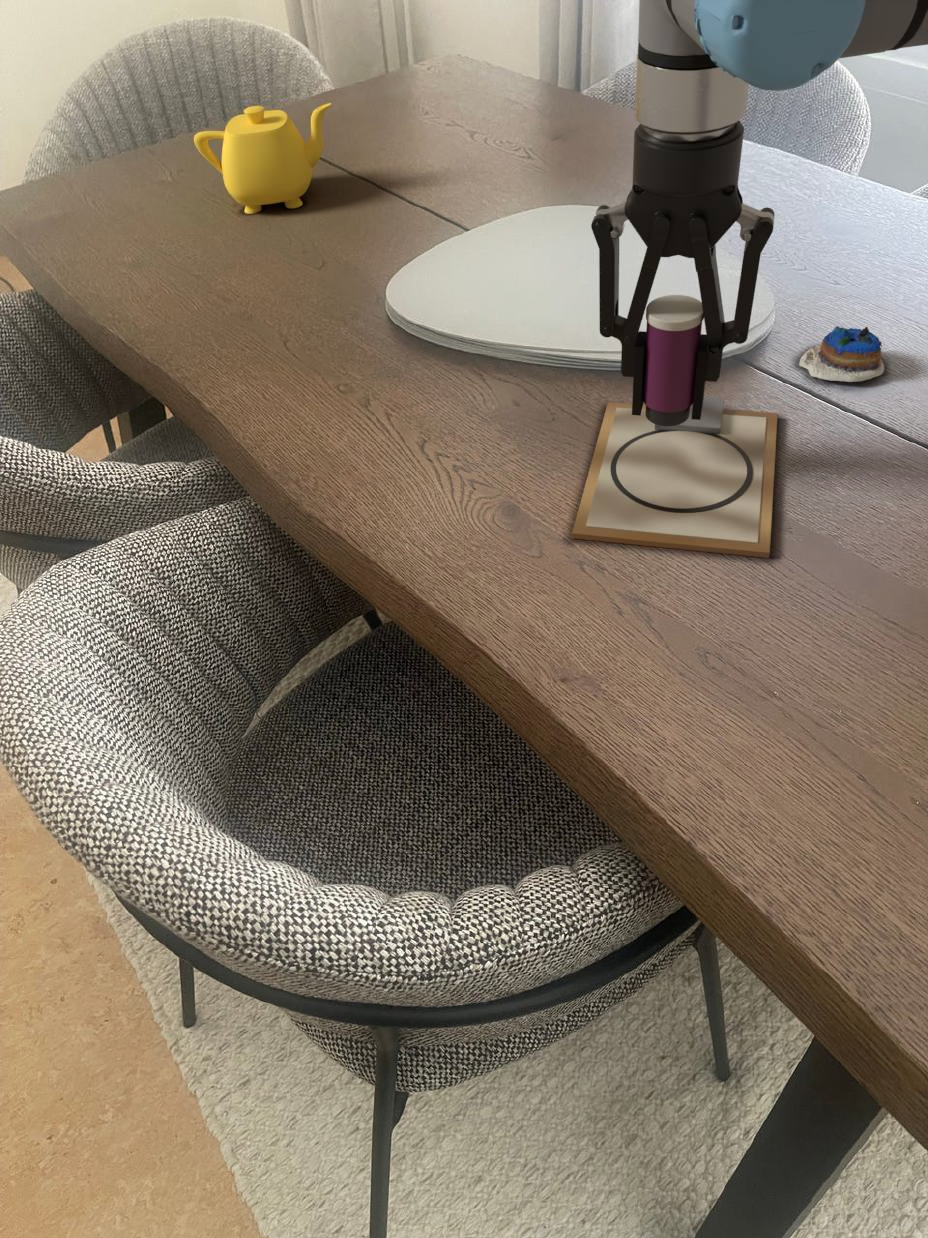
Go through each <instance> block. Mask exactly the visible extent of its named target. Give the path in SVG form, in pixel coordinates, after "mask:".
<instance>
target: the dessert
mask: <svg viewBox="0 0 928 1238" xmlns="http://www.w3.org/2000/svg"><path fill="white" fill-rule="evenodd" d="M882 348H883V345H882V341H881V340H880V338H879V337H878V336H876V335H875V334H874V333H873V332H871V331H870V330H869V328H868V326H865V327H864V328H863V329H861V328H857V327H855V328H852V327H849V328H845V327H842V326H841V327H840V326H839V325H837V326H834V328H833V329H832V331H830V332H828V334H826V335H825V336H823V339H822V341H821V344H817V345H816V346H812V347H811V348H809V349H808V350H807V351H806V352H804V353H803V354H802V355H801V357H800V359H799V363H798V365H799V367H802V368H804V369H806V370H807V372H808V373H809V376H811V377H812V378H817V379H820V380H825V381H829V382H830V381H831V382H832V381H834V382H835V381H837V382H847V383H856V382H864V381H868V380H871V379H873V378H876V377H879V376H882V375H883V373H884V372H885V364H884V361H883V360H882V358H881V357H882V353H883V351H882Z"/></svg>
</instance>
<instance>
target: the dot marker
mask: <svg viewBox="0 0 928 1238" xmlns="http://www.w3.org/2000/svg"><path fill="white" fill-rule="evenodd" d="M645 319H646V329H645V330H646V331H645V332H646V347H645V366H644V384H643V401H644V403H643V404H644V405H646V412H645V414H646V417H647V419H648V420H649V421H650V422H652V423H654V424H656V425H660V426H676V425H679V424H682V423H684V422H685V421H686V420H687V419H688V417H689V414H690V406H691V405H692V404H693V398H694V388H695V377H696V367H697V357H698V349H699V344H700V339H701V334H702V327H703V321H704V314H703V308H702V301H701V300H699V299H697V298H695V297H692V296H689V295H683V294H669V295H664V296H660V297H657V298H654V299H653V300H651V301H650V302H649V303H647V305H646V308H645Z"/></svg>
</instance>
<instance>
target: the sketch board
mask: <svg viewBox="0 0 928 1238" xmlns="http://www.w3.org/2000/svg"><path fill="white" fill-rule="evenodd" d="M724 405H725V398H723V397H720V398H719V397H707V396H704V399H703V406H702V413H701V419H700V420H695V419H691V418H692V408H693V404H692V405H691V406H690V414H689V417H688V419H687V420H686V421H685V422H684V423H682V424H679V425H676V426H660V425H656V424H654V423H652V422H650V421H649V420H648V419H647V417H646V414H645V412H646V405H645V404H643V407H642V411H641V415H640V416H639V415H632V403H623V402H610V401H609V402H607V405H606V409H605V412H604V415H603V419H602V423H601V426H600V430H599V433H598V437H597V440H596V444H595V449H594V452H593V456H592V459H591V462H590V467H589V470H588V474H587V478H586V482H585V485H584V489H583V493H582V496H581V500H580V503H579V507H578V510H577V514H576V518H575V521H574V525H573V528H572V532H571V538H572V539H575V540H585V541H595V542H603V543H615V544H624V545H634V546H635V545H636V546H644V547H645V546H646V547H655V548H665V549H675V550H685V551H693V552H694V551H695V552H703V553H704V552H705V553H713V554H714V553H715V554H725V555H735V556H743V557H744V556H746V557H754V558H765V559H769V558H770V555H771V542H772V541H771V540H772V539H771V538H772V525H773V523H772V521H773V505H774V489H775V488H774V487H775V485H774V484H775V468H776V450H777V436H778V435H777V431H778V415H779V414H778V412H768V411H767V412H766V411H750V410H749V411H748V410H734V409H724Z"/></svg>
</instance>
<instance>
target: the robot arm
mask: <svg viewBox="0 0 928 1238" xmlns="http://www.w3.org/2000/svg"><path fill="white" fill-rule="evenodd" d="M638 5H639V6H638V39H637V41H638V45H637V54H636V72H635V73H636V74H635V75H636V77H635V106H634V107H635V108H634V118H635V120H636V121H637V122H638V123H639V125H638V126H637V127H636V129H634V135H633V157H632V184H631V190H630V191H629V193H628V195H627V197H626V199H625V202H622V203H620V204H617V205H614V206H611V207H610V206H609V205H606V204H602V205H600V206H599V207H597V209H596V211H595V214H594V216H593V219H592V221H591V225H590V227H591V231H592V233H593V236H594V240H595V242H596V244H597V247H598V249H599V250H598V262H599V263H598V265H599V267H598V273H599V275H598V277H599V278H598V280H599V284H598V286H599V288H598V289H599V291H598V292H599V297H598V298H599V299H598V300H599V334H600V335H601V336H602V337H603V338H614V339H617V340H618V341H619V342H620V344H621V354H620V355H621V357H620V373H621V375H622V377H625V378H626V377H627V378H633V379H632V380H633V381H632V403H631V404H632V415H639V416H640V415H641V411H642V407H643V405H644V404H645V403H644V401H643V384H644V366H645V347H646V331H644V330H643V331H641V330H640V328H641V324H642V321H643V318H644V316H645V313H646V308H647V306H648V301H649V299H650V296H651V295H650V294H651V291H652V288H653V285H654V281H655V278H656V275H657V271H658V268H659V265H660V261H661V258H672V257H676V256H680V257H684V258H687V259H693V260H694V268H695V272H696V273H697V274H696V275H697V279H698V286H699V294H700V302H702V308H703V314H704V319H703V321H704V327H705V333H706V334H705V333H704V334H703V333H701V339H700V344H699V349H698V357H697V367H696V377H695V388H694V398H693V408H692V418H691V419H695V420H700V419H701V413H702V406H703V399H704V397H705V387H706V382H712V383H713V382H715V383H716V382H717V381H718V380H719V378H720V376H721V369H722V361H723V353H724V349H725V347H726V346H728V345H730V344H734V343H735V344H737V345H742V344H744V343H746V341H747V339H748V336H749V329H750V323H751V317H752V312H753V306H754V305H753V304H754V298H755V293H756V287H757V280H758V274H759V267H760V261H761V255H762V252H763V250H764V248H765V246H766V245H767V243H768V241H769V239H770V237H771V236H772V234H773V232H774V226H775V211H774V209H772V208H771V207H768V206H767V207H763V208H761V209H757V208H755V207H753V206H750V205H747V204H745V203H744V201H743V195H742V194H741V192H740V189H739V177H740V168H741V161H742V151H743V142H744V133H745V127H744V125H743V124H742V122H741V120H742V119H743V118H744V117H745V116H746V112H747V104H748V98H749V97H748V96H749V89H750V86H752V87H754V88H757V89H760V90H763V91H773V92H781V91H782V92H783V91H787V90H793V89H797V88H801V87H802V86H804V85H806V84H807V83H809V82H810V81H811V80H813V79H815V78H817V77H818V76H819V75H821V74H822V73H824V72H825V71H826V70H828V69H830V68H831V67H832V66H833V65H834V64H835V63H836V62H837V61H838V60H840V59H846V58H852V57H859V56H866V55H873V54H880V53H885V52H887V51H897V50H899V49H905V48H913V47H920V46H928V0H639V4H638ZM627 221H629V222H630V224H631V225H632V227H633V229H634V230H635V232H636V233H637V234H638V236H639V237H640V239H641V241H642V242H643V243H644V245H645V246H646V250H645V253H644V257H643V261H642V263H641V266H640V267H641V268H640V271H639V275H638V278H637V282H636V286H635V288H634V292H633V296H632V298H631V302H630V306H629V310H628V313H627V317H624V316H622V315H619V313H620V312H619V309H620V298H619V297H620V237H621V236H622V235H623V232H624V230H625V222H627ZM735 223H738V224H739V226H740V231H739V237H740V239H741V240H742V241H744V242H745V243H744V250H743V257H742V263H741V268H740V269H741V270H740V277H739V283H738V284H739V285H738V290H737V297H736V304H735V311H734V318H733V320H729V321H725V314H724V313H725V312H724V307H723V299H722V290H721V282H720V275H719V268H718V260H717V247H716V246H717V243H718V242H719V241H720V240H721V239H722V238H723V237H724V236H725V234H727V232H728V231H729V230H730V229H731V227H732V226H733V225H734V224H735Z"/></svg>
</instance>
